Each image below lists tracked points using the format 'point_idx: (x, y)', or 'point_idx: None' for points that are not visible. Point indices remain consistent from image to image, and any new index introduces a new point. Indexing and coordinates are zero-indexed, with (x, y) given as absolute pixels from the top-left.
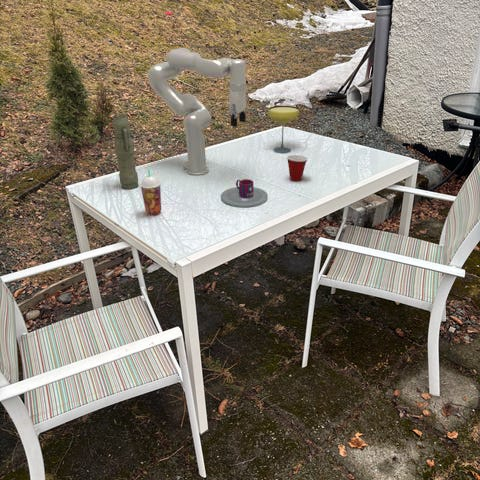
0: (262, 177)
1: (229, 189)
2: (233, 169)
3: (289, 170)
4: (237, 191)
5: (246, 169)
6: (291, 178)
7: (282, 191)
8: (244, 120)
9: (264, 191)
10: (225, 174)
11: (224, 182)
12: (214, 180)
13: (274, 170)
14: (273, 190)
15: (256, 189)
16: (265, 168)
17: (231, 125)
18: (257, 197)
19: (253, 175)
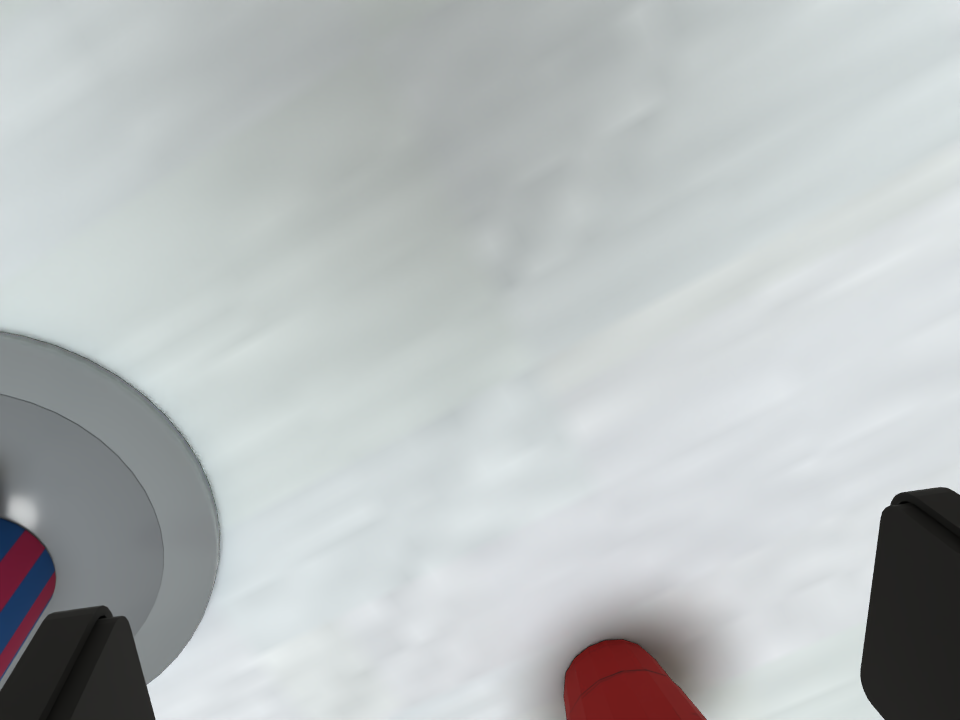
0: (530, 434)
1: (2, 358)
2: (616, 39)
3: (595, 711)
4: (5, 459)
5: (672, 181)
6: (571, 678)
7: (317, 711)
8: (891, 717)
9: (178, 645)
10: (427, 34)
11: (203, 161)
12: (186, 12)
13: (744, 441)
14: (296, 650)
15: (176, 570)
16: (767, 344)
17: (53, 646)
18: (12, 668)
19: (541, 335)
